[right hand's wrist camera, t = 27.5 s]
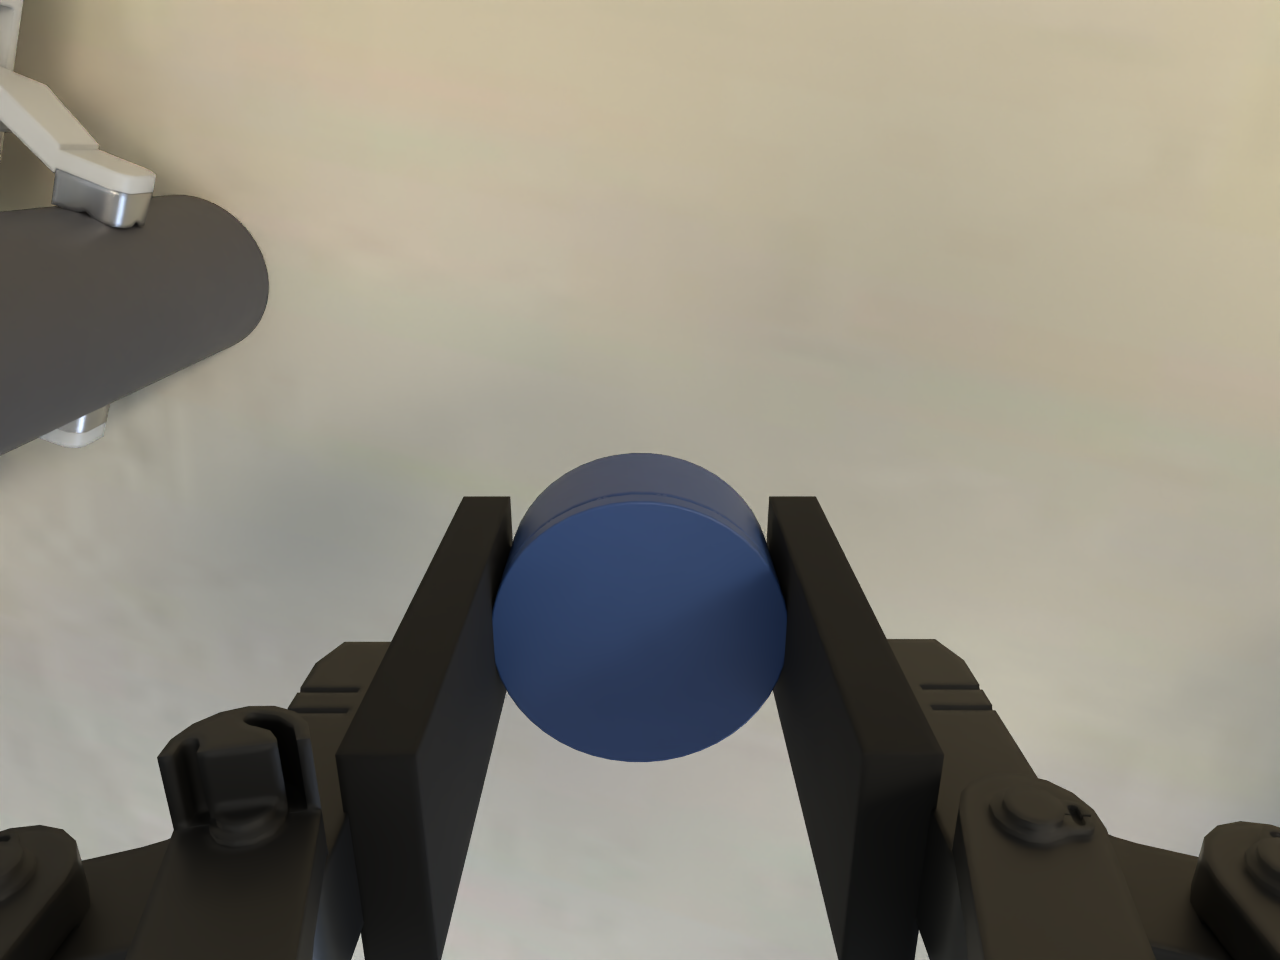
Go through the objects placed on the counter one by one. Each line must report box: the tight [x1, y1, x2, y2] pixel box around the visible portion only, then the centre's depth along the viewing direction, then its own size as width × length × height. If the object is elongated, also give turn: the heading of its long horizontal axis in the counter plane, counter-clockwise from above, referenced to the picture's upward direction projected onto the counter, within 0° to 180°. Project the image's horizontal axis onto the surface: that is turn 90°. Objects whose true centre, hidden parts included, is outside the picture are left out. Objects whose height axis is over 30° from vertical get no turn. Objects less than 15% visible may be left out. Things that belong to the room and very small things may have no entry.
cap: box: [492, 453, 787, 762], centre depth 14 cm, size 4×4×2 cm
